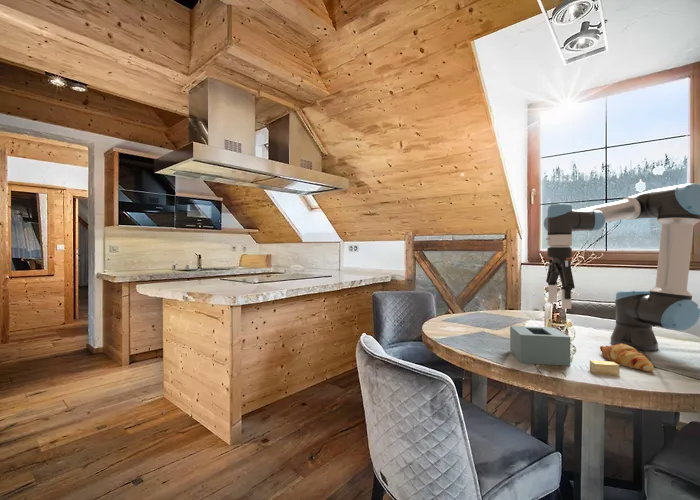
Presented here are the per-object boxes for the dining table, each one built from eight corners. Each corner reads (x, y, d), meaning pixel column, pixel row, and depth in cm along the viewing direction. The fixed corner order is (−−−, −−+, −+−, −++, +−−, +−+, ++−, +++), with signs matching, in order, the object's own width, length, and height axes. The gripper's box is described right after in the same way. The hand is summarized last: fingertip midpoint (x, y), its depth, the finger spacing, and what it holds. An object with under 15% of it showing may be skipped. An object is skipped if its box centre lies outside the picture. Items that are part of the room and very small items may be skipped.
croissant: (661, 384, 109) (672, 362, 109) (636, 371, 108) (647, 349, 108) (607, 361, 130) (616, 343, 130) (585, 349, 129) (595, 331, 130)
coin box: (554, 353, 130) (554, 327, 130) (570, 365, 117) (570, 337, 116) (510, 350, 133) (510, 325, 133) (520, 362, 120) (520, 334, 120)
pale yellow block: (613, 372, 111) (613, 361, 111) (619, 376, 108) (619, 365, 108) (589, 370, 112) (589, 360, 112) (594, 374, 109) (594, 363, 109)
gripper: (537, 246, 135) (537, 299, 135) (560, 246, 110) (560, 311, 111) (558, 246, 133) (558, 300, 133) (586, 246, 109) (586, 312, 109)
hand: (559, 305), depth 122 cm, fingers open, 13 cm apart
